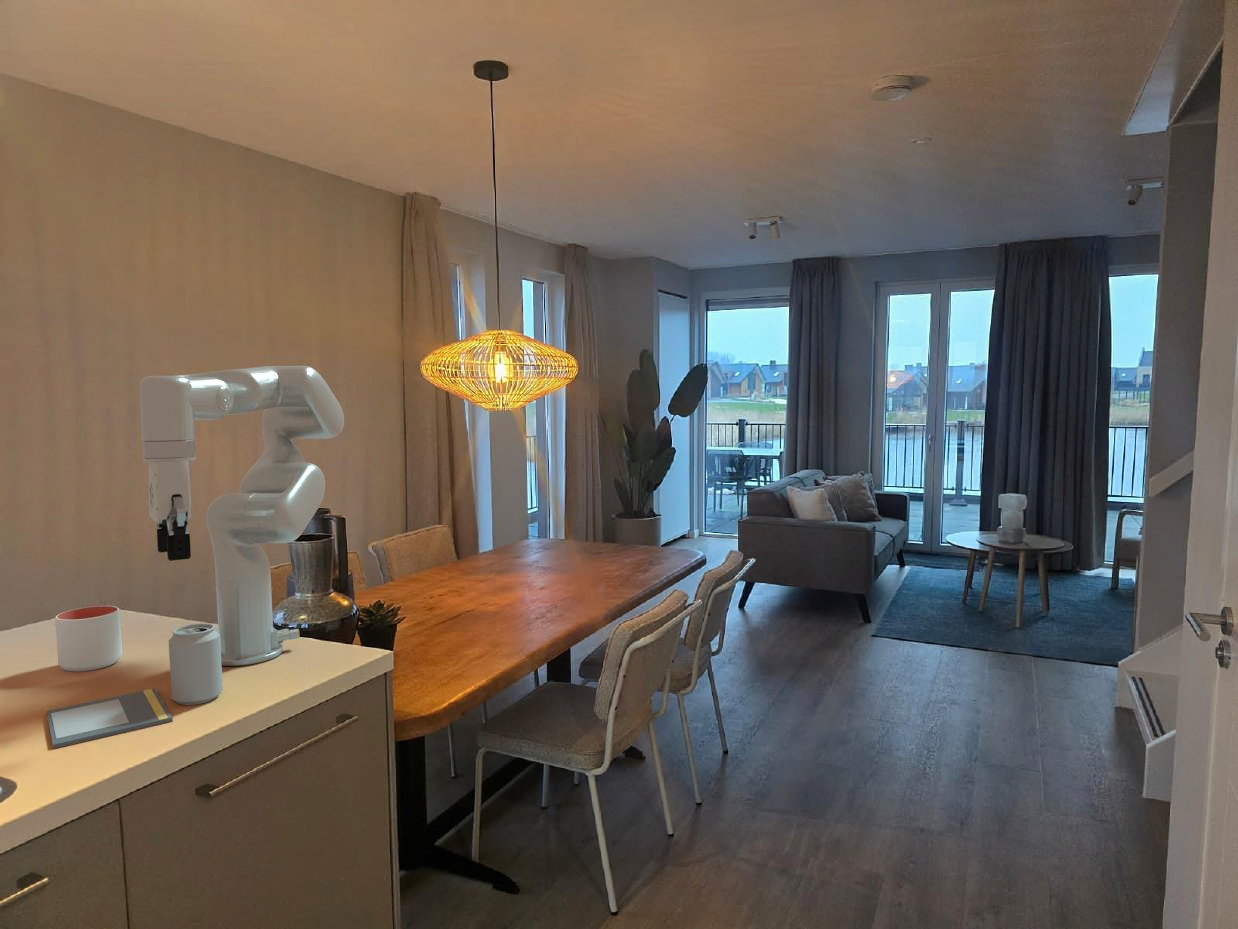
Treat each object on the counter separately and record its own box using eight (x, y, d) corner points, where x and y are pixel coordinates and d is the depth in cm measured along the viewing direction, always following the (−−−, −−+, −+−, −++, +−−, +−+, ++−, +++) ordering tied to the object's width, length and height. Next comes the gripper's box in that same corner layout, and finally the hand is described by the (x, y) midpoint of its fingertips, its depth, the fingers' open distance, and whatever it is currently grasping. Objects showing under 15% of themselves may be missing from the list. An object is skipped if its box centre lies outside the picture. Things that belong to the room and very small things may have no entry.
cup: (49, 676, 142) (45, 622, 141) (70, 659, 152) (67, 608, 151) (112, 670, 145) (109, 617, 144) (129, 653, 154) (126, 603, 154)
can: (232, 695, 132) (228, 625, 131) (189, 710, 126) (184, 637, 125) (206, 687, 136) (202, 619, 135) (162, 701, 130) (158, 630, 129)
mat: (155, 691, 134) (155, 687, 134) (172, 721, 122) (172, 716, 121) (46, 714, 125) (46, 710, 125) (53, 748, 112) (52, 744, 112)
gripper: (135, 451, 133) (140, 551, 134) (151, 454, 120) (156, 566, 121) (185, 449, 138) (189, 546, 139) (205, 452, 124) (210, 560, 126)
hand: (173, 555), depth 130 cm, fingers open, 9 cm apart
